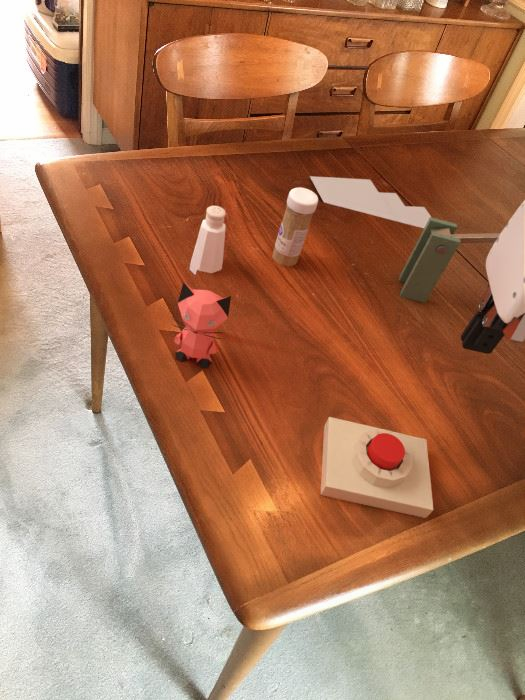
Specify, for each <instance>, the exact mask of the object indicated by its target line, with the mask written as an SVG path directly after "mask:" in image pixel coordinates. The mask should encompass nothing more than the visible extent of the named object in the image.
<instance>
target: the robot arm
mask: <svg viewBox="0 0 525 700" xmlns="http://www.w3.org/2000/svg"><path fill="white" fill-rule="evenodd" d="M500 233H501V234H500V235H499V237H498V238H497V240H496V241H495V243H493V245H492V247H491V248H490V249H489V252H488V254H487V255H486V258H485V271H486V275H487V280H488V284H487V289H485V292H484V294H483V296H482V297H481V299H480V301H479V303H478V310H476V311H475V313H474V315H473V316H472V318H471V319H470V321H469V322H468V324H467V325H466V327H465V328H464V330H463V331H462V333H461V334H460V340H461V341H462V342H461V345H462V348H463V349H464V350H468V351H471V352H472V351H473V352H477V353H482V354H487V355H488V354H492V353H493V352H494V350H495V348H496V347H497V346H498V344H499V343H500V342H501V341H502V339H504V337H505V338H506V340H507V341H509V342H514V343H518V344H522V343H523V342H524V341H525V199H524V200H523V201H522V203H521V204H520V205H519V207H518V208H517V209H516V210H515V212H514V213H513V215H512V216H511V217H510V219H509V220H508V222H507V223H506V225H505V226H504V228H503V229H502V230H501V232H500Z"/></svg>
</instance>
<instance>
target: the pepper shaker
mask: <svg viewBox="0 0 525 700" xmlns="http://www.w3.org/2000/svg"><path fill="white" fill-rule="evenodd" d="M226 215H227V212H226V210H225V208H224V207H221V206H219V205H210V206H208V207H207V208H206V214H205V218H204V219H203V220H202V222H201V225H200V228H199V232H198V235H197V239H196V242H195V246H194V248H193V249H194V250H193V254H192V256H191V260H190V264H189V271H190V272H191V273H192V274H193V275H194V276H196V274H197V272H204V273H207V274H215V273H216V272H219V271H221V270H223V263H224V253H225V252H224V251H225V239H226V229H227V228H226V227H227V226H226V223H224V222H225V217H226Z"/></svg>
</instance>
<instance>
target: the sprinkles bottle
mask: <svg viewBox="0 0 525 700" xmlns="http://www.w3.org/2000/svg"><path fill="white" fill-rule="evenodd" d="M318 203H319V197H318V195H317V194H316V193H315V192H314V191H312V190H311V189H308V188H306V187H294V188H292V189H290V190H289V193H288V195H287V199H286V208H285V211H284V214H283V218H282V221H281V223H280V227H279V230H278V232H277V236H276V240H275V244H274V248H273V250H272V251H273V252H272V255H271V256H272V259H273V261H274V262H275V263H277V264H278V265H280V266H283V267H294V266H295V265H296V264H297V263H298V261H299V257H300V254H301V252H302V249H303V247H304V244H305V240H306V237H307V234H308V232H309V228H310V224H311V221H312V218H313V215H314V213H315V212H316V210H317V207H318Z"/></svg>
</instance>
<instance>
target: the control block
mask: <svg viewBox="0 0 525 700" xmlns="http://www.w3.org/2000/svg"><path fill="white" fill-rule="evenodd" d="M381 433H388V434H391V435H393V436H395V437H397V438H398V439H399V440H400V441H401V442H402V444H403V446H404V448H405V455H404V458H403V459H402V460H401V462H400V463H399V464H398V466H397V467H396V468H394V469H391V470H385V469H381V468H379V467H377V466H376V465H375V464H374V463H373V462H372V461H371V460H370V458H369V456H368V447H369V445H370V443H371V442H372V440H373V439H374V437H375V436H376V435H378V434H381ZM322 443H323V444H322V459H321V479H320V496H323V497H328V498H332V499H336V500H342V501H346V502H350V503H354V504H358V505H364V506H368V507H373V508H378V509H382V510H387V511H390V512H396V513H401V514H406V515H410V516H413V515H414V517H418V518H423V519H427V518H428V517H429V516H430V514H432V512H433V511H434V499H433V492H432V490H433V489H432V481H431V472H430V460H429V453H428V451H429V450H428V441H427V439H426V438H422V437H418V436H414V435H410V434H405V433H401V432H397V431H393V430H388V429H384V428H380V427H376V426H371V425H368V424H367V425H366V424H362V423H359V422H354V421H349V420H345V419H341V418H336V417H332V416H329V417H328V418H327V420H326V421H325V424H324V426H323V441H322Z"/></svg>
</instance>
